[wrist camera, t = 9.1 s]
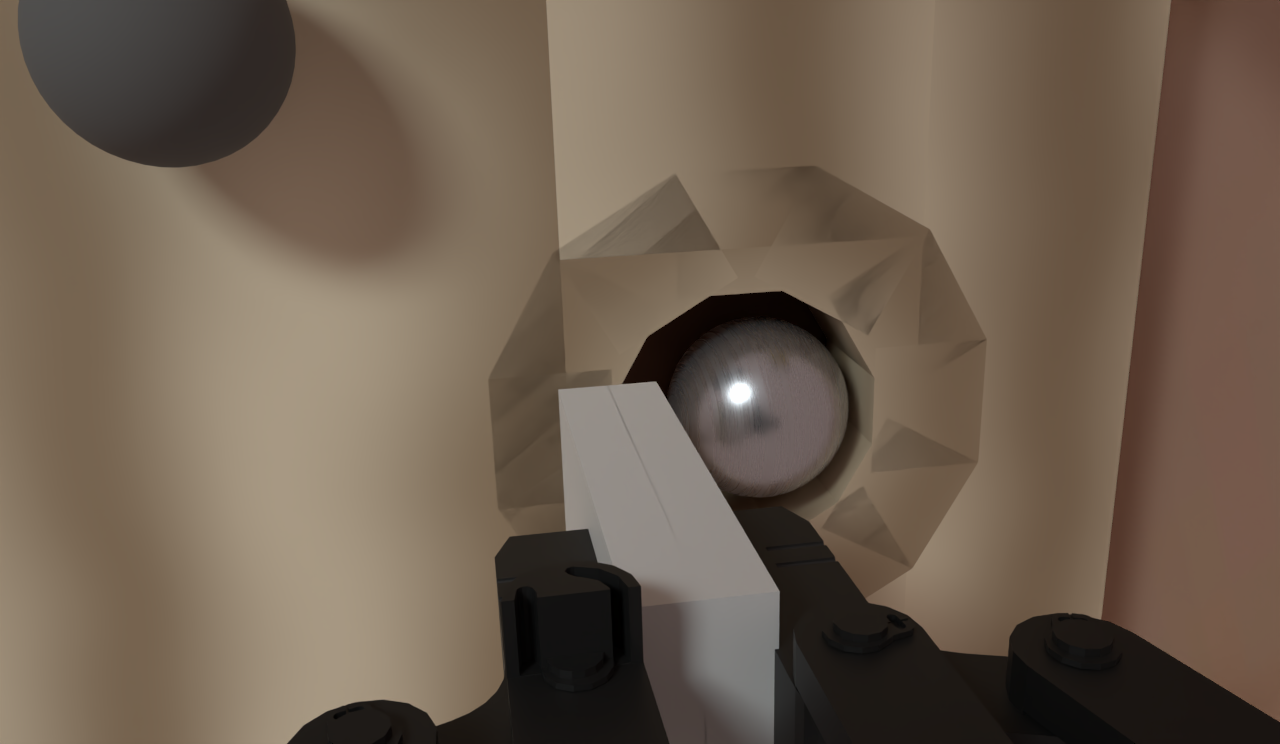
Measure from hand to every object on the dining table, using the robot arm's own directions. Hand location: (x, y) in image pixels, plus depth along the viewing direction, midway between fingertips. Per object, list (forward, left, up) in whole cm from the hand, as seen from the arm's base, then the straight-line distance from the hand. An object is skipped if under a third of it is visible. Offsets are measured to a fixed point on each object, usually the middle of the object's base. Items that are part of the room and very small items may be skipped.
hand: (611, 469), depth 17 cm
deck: (-4, 0, -4) cm, 5 cm away
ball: (-6, +7, 0) cm, 9 cm away
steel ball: (+3, 0, -2) cm, 4 cm away
